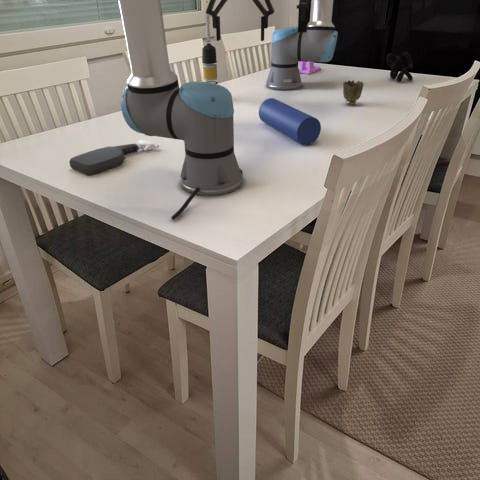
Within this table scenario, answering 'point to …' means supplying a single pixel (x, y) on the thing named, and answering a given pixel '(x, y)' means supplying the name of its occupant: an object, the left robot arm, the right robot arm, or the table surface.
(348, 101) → the cup
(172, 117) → the left robot arm
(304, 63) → the bracket
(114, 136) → the table surface
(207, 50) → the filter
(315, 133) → the rod
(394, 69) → the squiggle
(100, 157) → the spray bottle
